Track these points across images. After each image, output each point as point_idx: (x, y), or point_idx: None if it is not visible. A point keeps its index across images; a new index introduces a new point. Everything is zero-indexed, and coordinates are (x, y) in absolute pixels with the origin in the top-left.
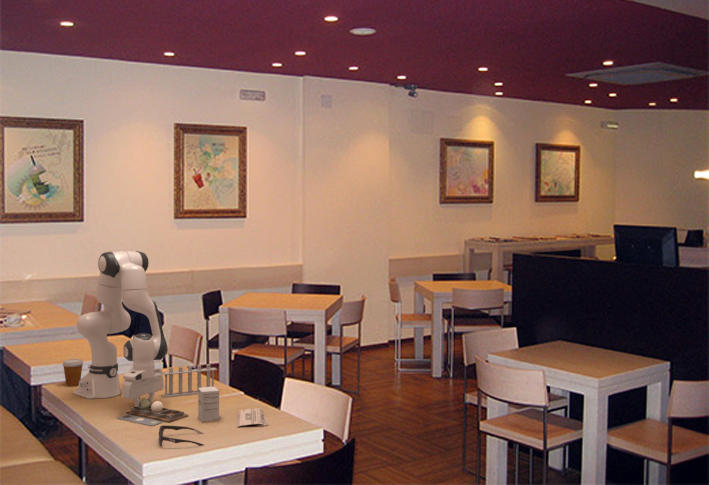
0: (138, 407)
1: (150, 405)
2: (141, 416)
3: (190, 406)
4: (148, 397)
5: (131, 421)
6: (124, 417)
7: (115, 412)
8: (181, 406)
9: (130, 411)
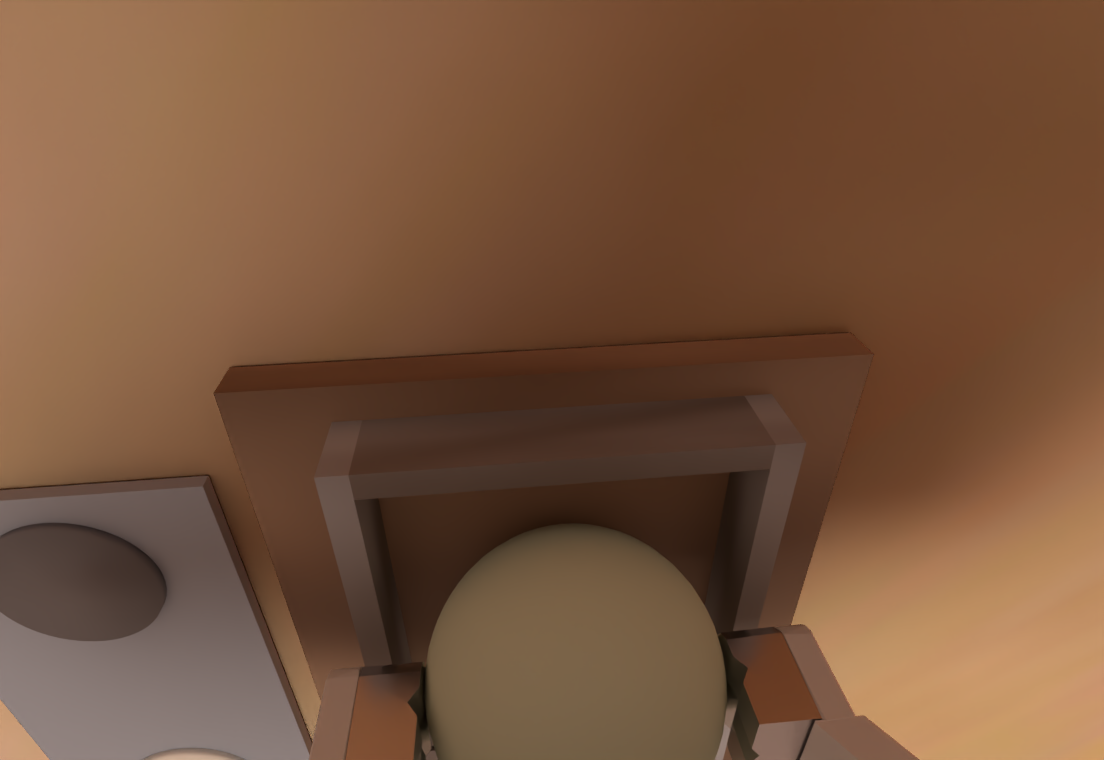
0: (445, 605)
1: (734, 619)
2: None
3: (1087, 713)
4: (839, 751)
5: (55, 757)
6: (4, 614)
7: (21, 5)
8: (1070, 657)
9: (310, 443)
